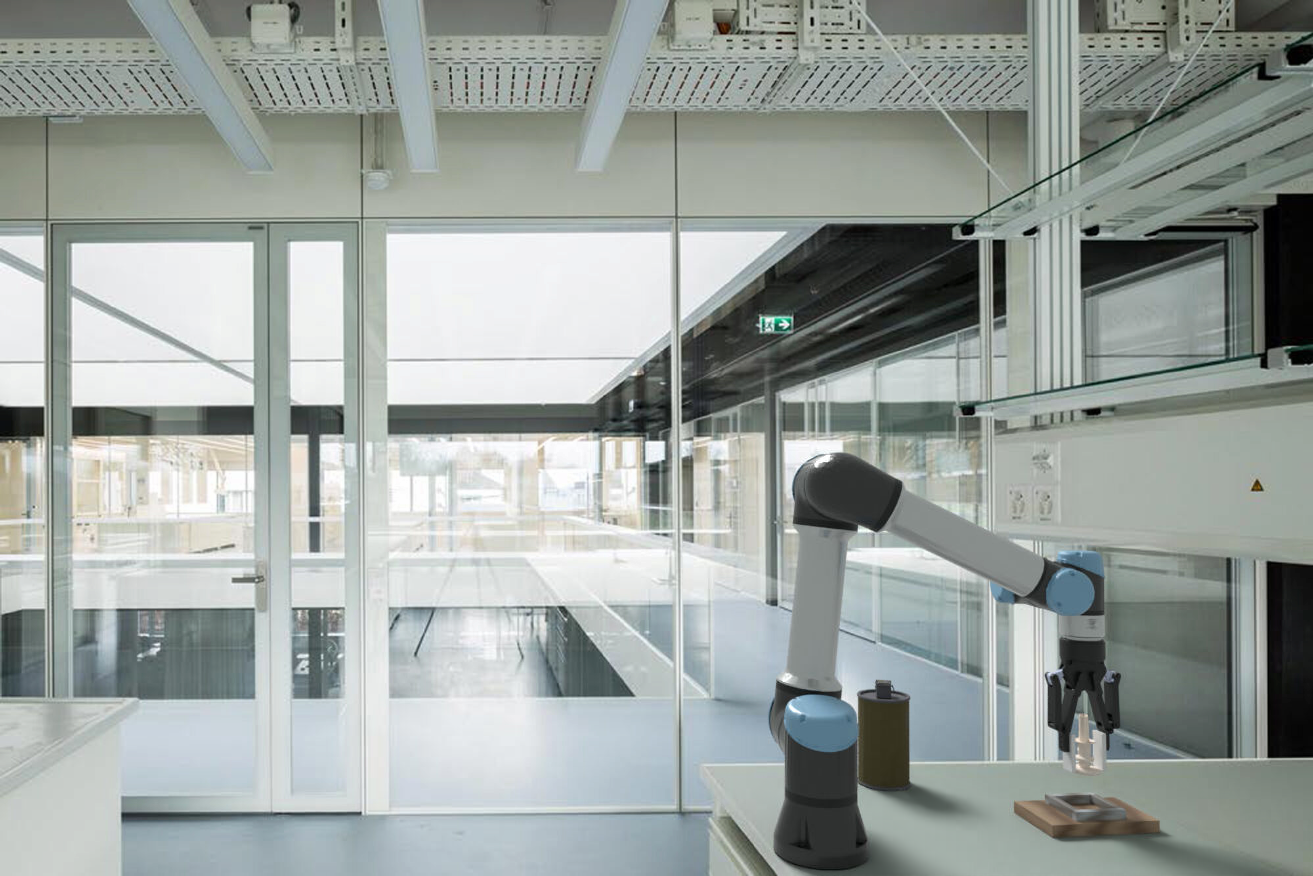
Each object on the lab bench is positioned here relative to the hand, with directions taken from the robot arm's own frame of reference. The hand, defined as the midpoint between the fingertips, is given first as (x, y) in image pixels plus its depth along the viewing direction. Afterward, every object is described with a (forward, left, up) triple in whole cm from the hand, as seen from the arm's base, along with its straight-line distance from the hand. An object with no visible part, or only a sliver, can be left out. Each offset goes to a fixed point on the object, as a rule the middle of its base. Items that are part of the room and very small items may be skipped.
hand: (1084, 769), depth 160 cm
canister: (-27, +25, -9) cm, 38 cm away
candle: (0, 0, 0) cm, 0 cm away
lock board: (0, 0, -9) cm, 9 cm away
